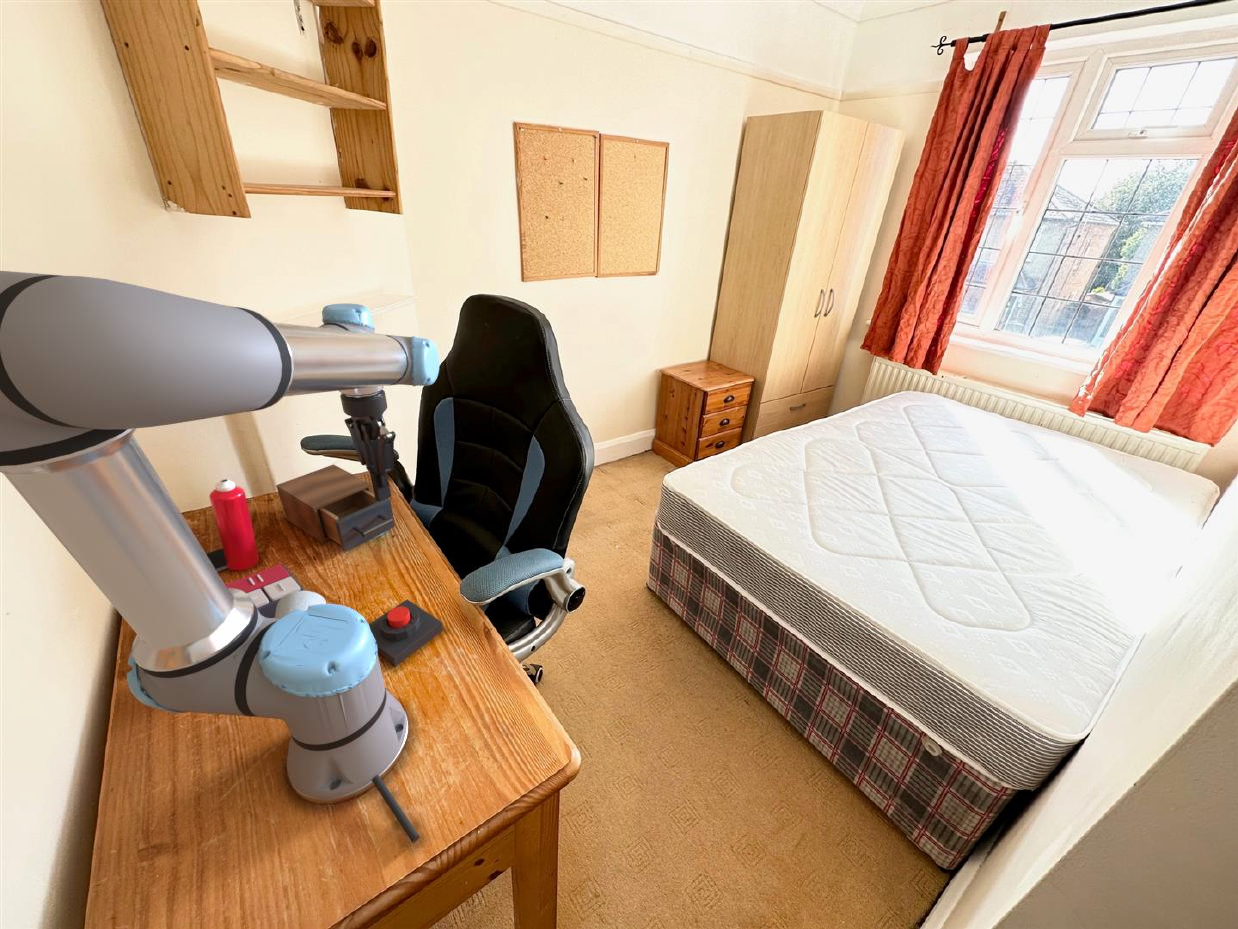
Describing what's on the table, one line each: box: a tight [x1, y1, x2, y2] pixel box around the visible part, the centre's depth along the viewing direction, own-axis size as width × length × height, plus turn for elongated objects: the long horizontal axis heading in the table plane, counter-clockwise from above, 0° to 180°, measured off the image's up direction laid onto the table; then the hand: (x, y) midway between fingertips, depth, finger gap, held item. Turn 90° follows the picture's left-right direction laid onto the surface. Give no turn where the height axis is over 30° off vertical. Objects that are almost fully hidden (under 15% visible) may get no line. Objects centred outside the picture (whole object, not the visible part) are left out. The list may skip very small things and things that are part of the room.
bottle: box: [208, 478, 260, 572], centre depth 97 cm, size 5×6×20 cm
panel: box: [368, 598, 444, 668], centre depth 87 cm, size 10×10×4 cm
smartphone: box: [206, 548, 229, 573], centre depth 98 cm, size 7×1×15 cm
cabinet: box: [275, 463, 373, 544], centre depth 116 cm, size 16×14×10 cm
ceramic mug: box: [274, 590, 327, 619], centre depth 85 cm, size 11×8×8 cm
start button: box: [387, 606, 410, 628], centre depth 86 cm, size 4×4×2 cm
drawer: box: [317, 489, 396, 553], centre depth 111 cm, size 19×12×8 cm, turn 58°
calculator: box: [224, 563, 305, 618], centre depth 90 cm, size 11×4×15 cm
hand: (383, 497), depth 100 cm, fingers closed
